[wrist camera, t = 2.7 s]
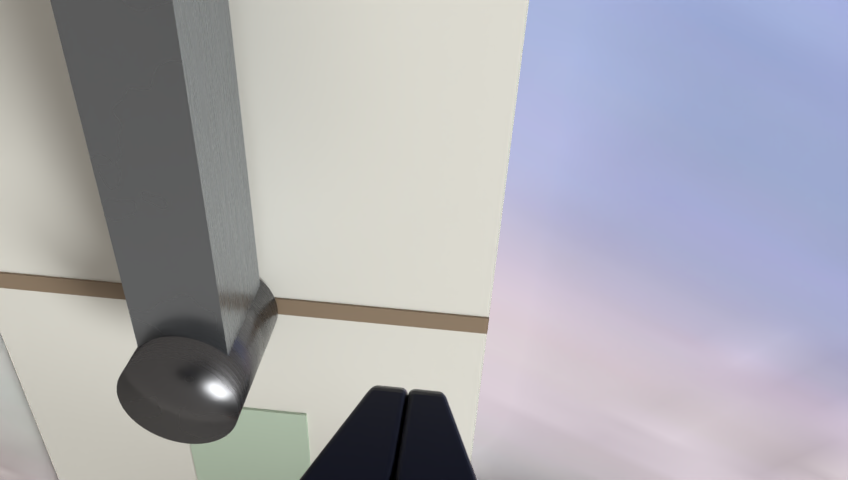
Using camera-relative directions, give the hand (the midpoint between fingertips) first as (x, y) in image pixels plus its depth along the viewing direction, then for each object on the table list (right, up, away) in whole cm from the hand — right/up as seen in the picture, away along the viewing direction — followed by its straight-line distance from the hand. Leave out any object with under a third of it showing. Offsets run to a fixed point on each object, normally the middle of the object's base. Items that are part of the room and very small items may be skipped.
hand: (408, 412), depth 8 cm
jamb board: (-6, +1, +14) cm, 16 cm away
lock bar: (-6, +4, +11) cm, 13 cm away
